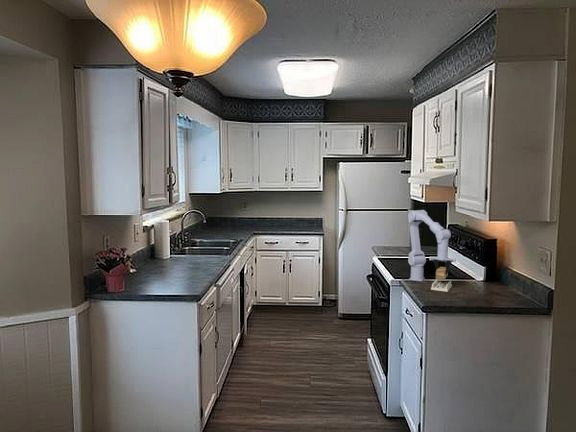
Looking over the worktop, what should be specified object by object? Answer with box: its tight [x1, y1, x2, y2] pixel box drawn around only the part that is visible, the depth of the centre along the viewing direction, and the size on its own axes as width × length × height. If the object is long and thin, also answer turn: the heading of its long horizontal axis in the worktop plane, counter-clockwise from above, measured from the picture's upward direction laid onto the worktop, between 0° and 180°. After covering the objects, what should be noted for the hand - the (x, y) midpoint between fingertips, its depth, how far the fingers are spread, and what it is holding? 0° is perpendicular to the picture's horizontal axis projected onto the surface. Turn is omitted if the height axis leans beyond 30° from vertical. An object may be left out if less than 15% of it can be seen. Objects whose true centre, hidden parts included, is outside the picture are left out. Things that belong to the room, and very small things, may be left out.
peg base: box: [430, 278, 453, 293], centre depth 263 cm, size 14×9×3 cm, turn 150°
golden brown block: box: [435, 266, 449, 281], centre depth 262 cm, size 12×4×5 cm, turn 150°
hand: (442, 273), depth 262 cm, fingers closed on golden brown block, 4 cm apart
